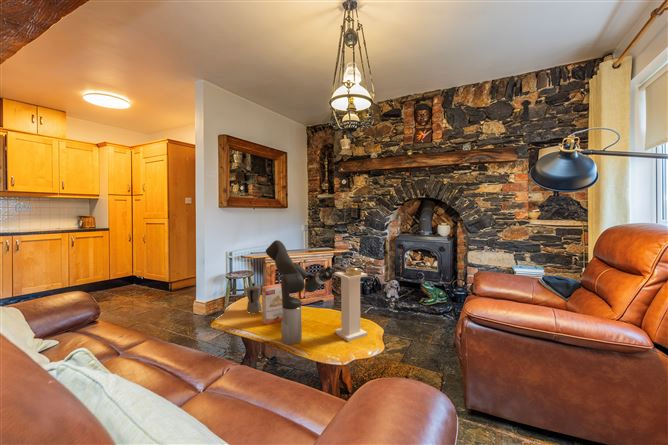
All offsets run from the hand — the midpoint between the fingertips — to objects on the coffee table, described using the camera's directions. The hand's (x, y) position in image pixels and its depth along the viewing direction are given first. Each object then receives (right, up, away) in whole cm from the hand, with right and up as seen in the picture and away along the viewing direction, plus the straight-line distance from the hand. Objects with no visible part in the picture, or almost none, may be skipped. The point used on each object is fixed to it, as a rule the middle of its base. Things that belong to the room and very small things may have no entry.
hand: (336, 266), depth 158 cm
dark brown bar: (+5, -2, -7) cm, 9 cm away
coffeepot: (-52, -32, +24) cm, 66 cm away
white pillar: (+7, -34, -8) cm, 35 cm away
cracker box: (-35, -33, +9) cm, 49 cm away
